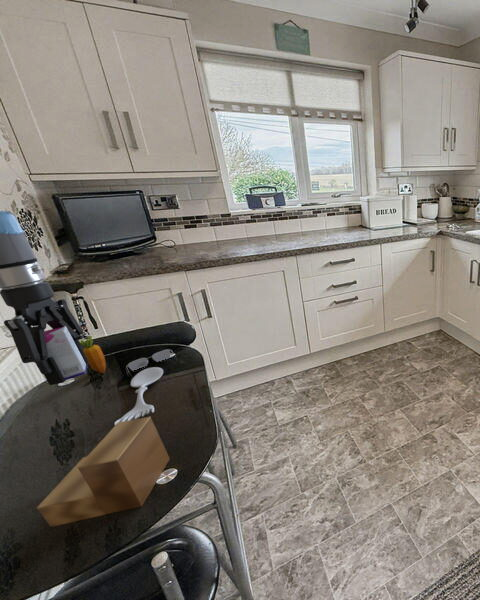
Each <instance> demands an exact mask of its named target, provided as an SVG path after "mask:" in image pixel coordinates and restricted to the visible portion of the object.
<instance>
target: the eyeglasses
mask: <svg viewBox="0 0 480 600" xmlns="http://www.w3.org/2000/svg"><path fill="white" fill-rule="evenodd" d="M171 353H172V354H173V356H174V357H175V360H176V361H178V359H177V356H176V355H175V353H174V352H173V350H172V349H162V350H160V351H156V352H155V353H153V354H152V355H151V356H149V357H140V358H138V359H135V360H133V361H131V362H128V363H127V365H126V366H125V367H126V369H127V371H128V374H129V375H130V377H131V379H133V378H134V376H132V375H131V373H130V371H129V369H130V370H131V371H132V372H135V371H134V370H137V369H139V368H142V367H144V368H146V367H147V366H148V364H149V358H152V360H153V361H154V362H156V363H159V361H160V362H163V361H162V360H164V361H166V360H168V359H170V358H171ZM165 359H166V360H165ZM145 366H146V367H145ZM128 368H129V369H128ZM142 369H143V368H142ZM137 371H138V370H137Z"/></svg>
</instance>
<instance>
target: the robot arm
mask: <svg viewBox="0 0 480 600" xmlns="http://www.w3.org/2000/svg"><path fill="white" fill-rule="evenodd" d="M46 277H47V276H46V275H45V273H44V271H43V269H42V267H41V265H40V263H39V261H38V259H37V257H36V255H35V253H34V251H33V249H32V246H31V244H30V242H29V240H28V238H27V236H26V233H25V230H24V229H23V228H22V226H21V225H20V223H19V221H18V219H17V218H16V216H15V215H14V214H13V213H11V212H10V211H6V210H0V296H1V298H2V300H3V302H4V304H5V305H6V306H7V307H10V308H13V309H14V317H12V318H11V319H5V320H4V321H3V325H4V327H6V328H7V329H8V331H9V332H10V335H11V337H12V339H13V342H14V345H15V347H16V350H17V352H18V355H19V357H20V360H21V362H22V363H23V364H30V363H34V364H35V365H36V367H37V369H38V370H39V372H40V374H41V375H43V376H44V378H45V379H46V381H47V384H48V385H49V386H52V385H58V384H64V383H65V382H66V380H65V379H64V377H63V375H62V374H61V372H60V370H59V368H58V366H57V364H56V362H55V361H54V359H53V357H48V352H47V345H46V338H45V331H46V329H47V325H48V326H49V327H50V328H51V329H55V328H60V327H65V326H66V327H67V329H68V331H69V333H70V334H71V336H72V338H73V340H74V342H75V344H76V346H77V348H78V350H79V352H80V354H81V356H82V357H83V359H84V361H85V363H86V365H87V366H88V365H89V361H88V359H87V357H86V355H85V353H84V351H83V349H84V346H83V345H81V343H80V341H81V340H83V339H84V330H83V328H82V327H81V325H80V324H79V322H78V321H77V319H76V318H75V316H74V315H73V313H72V312H71V310H70V309H69V307H68V303H67V300H66V299H65V298H63V299H62V298H61V299H53V297H54V296H55V292H54V290H53V288H52V286H51V284H50V282H49V281H47V280H45V279H46ZM39 354H40V355H39Z"/></svg>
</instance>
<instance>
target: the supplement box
mask: <svg viewBox="0 0 480 600" xmlns="http://www.w3.org/2000/svg"><path fill="white" fill-rule="evenodd" d="M44 331H45V338H46V345H47V352H48V357H53V359H54V361H55V362H56V364H57V366H58V368H59V370H60V372H61V374H62V375H63V377H64V379H65V381H67V380H70V379H73V378H76V377H79V376H82V375H85V374H86V373H87V366H88V364H87V365H86V363H85V361H84V359H83V357H82V356H81V354H80V352H79V350H78V348H77V346H76V344H75V342H74V340H73V338H72V336H71V334H70V333H69V331H68V329H67V327H66V326H65V327H60V328H55V329H52V328H51V329H47V330H44ZM39 355H40V354H39Z"/></svg>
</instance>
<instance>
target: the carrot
mask: <svg viewBox="0 0 480 600" xmlns="http://www.w3.org/2000/svg"><path fill="white" fill-rule="evenodd" d="M79 341H80V343H81V345H82V347H83V351H84V353H85V355H86V357H87V359H88V361H89V364H88V366H90V368H91V369H93V370H94V371H95V372H96V373H98V374H99V375H101V373H104V372H105V373H106V370H107V364H106V359H105V355H104V353H103V351H102V348H101V347H100V346H99V345H98V344H93V343H94V340H93V336H92V335H88V338H86V341H84V340H83V339H80V340H79ZM105 373H104V374H105Z"/></svg>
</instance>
